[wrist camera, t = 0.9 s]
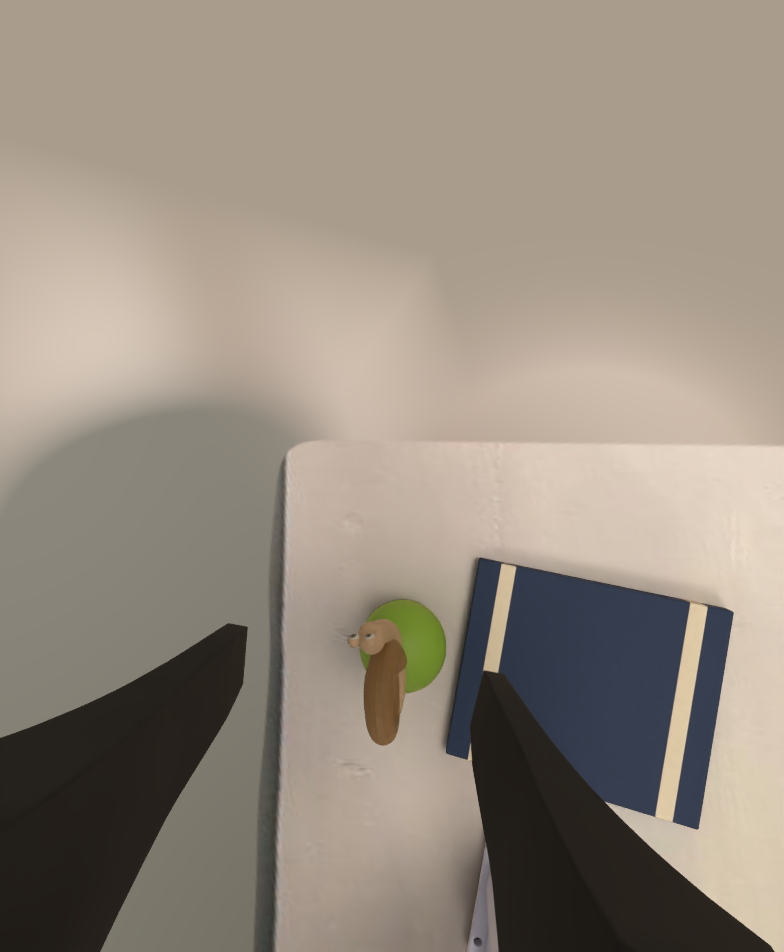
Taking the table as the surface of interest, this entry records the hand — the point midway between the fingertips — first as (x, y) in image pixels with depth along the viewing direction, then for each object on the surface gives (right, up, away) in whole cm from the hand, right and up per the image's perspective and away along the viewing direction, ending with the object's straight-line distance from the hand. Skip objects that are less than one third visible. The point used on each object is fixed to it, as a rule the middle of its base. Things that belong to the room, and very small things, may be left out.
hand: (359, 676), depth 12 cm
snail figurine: (+2, -4, +16) cm, 17 cm away
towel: (+13, -7, +14) cm, 20 cm away
